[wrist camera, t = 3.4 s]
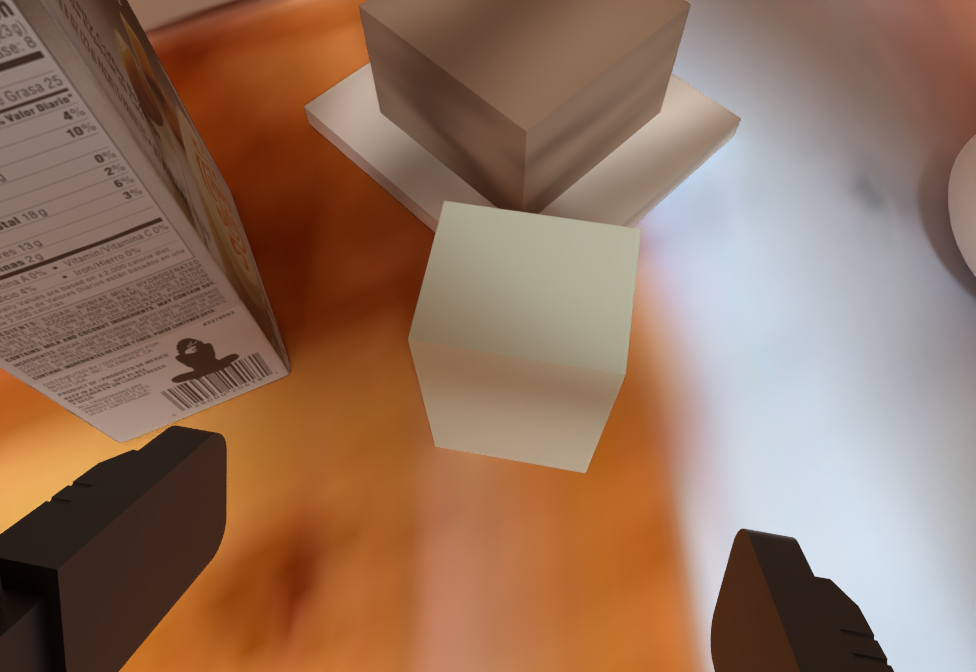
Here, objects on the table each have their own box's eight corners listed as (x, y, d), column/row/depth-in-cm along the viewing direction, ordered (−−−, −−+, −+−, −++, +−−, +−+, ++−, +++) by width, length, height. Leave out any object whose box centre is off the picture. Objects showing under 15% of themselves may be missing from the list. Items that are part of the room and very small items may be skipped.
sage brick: (599, 362, 25) (641, 229, 17) (585, 473, 23) (625, 374, 16) (459, 339, 25) (444, 200, 18) (435, 446, 23) (407, 339, 16)
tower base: (733, 136, 29) (786, 11, 24) (531, 316, 25) (540, 216, 20) (509, -13, 33) (512, -147, 28) (309, 124, 30) (267, -1, 24)
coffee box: (70, 243, 27) (-409, -257, 13) (232, 187, 28) (-42, -331, 14) (117, 453, 23) (-488, 75, 9) (302, 378, 24) (24, -64, 10)
